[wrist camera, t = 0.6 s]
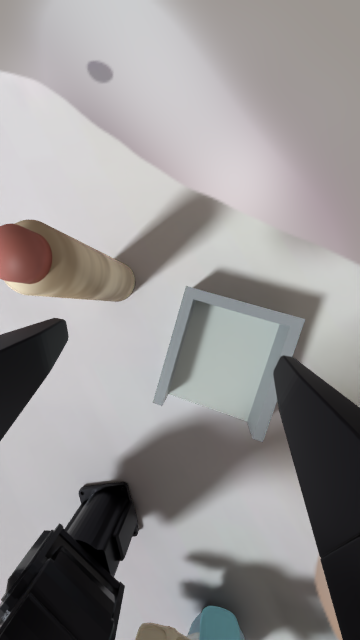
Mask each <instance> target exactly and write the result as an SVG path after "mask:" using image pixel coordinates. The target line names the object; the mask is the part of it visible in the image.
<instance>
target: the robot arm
mask: <svg viewBox="0 0 360 640" xmlns="http://www.w3.org/2000/svg"><path fill="white" fill-rule="evenodd" d="M67 341H68V331H67V325H66V321H65V320H63V319H58V318H53V319H49V320H46V321H43V322H40V323H37V324H33V325H30V326H27V327H24V328H21V329H18V330H14V331H11V332H8V333H5V334H2V335H0V441H1V439H2V438H3V437H4V435H5V434H6V433H7V431H8V430H9V428H10V427H11V426H12V424H13V423H14V421H15V420H16V419H17V417H18V416H19V414H20V413H21V412H22V410H23V409H24V407H25V406H26V405H27V403H28V402H29V400H30V399H31V398H32V396H33V395H34V394H35V392H36V391H37V389H38V388H39V387H40V385H41V384H42V382H43V381H44V380H45V378H46V377H47V375H48V374H49V372H50V371H51V369H52V368H53V366H54V364H55V362H56V361H57V359H58V357H59V355H60V353H61V352H62V350H63V348H64V346H65V345H66V343H67ZM273 377H274V383H275V389H276V395H277V402H278V407H279V412H280V416H281V419H282V423H283V426H284V430H285V433H286V437H287V441H288V444H289V448H290V451H291V455H292V459H293V462H294V466H295V469H296V473H297V476H298V480H299V484H300V487H301V491H302V494H303V498H304V502H305V505H306V509H307V512H308V516H309V519H310V523H311V527H312V530H313V534H314V537H315V541H316V545H317V548H318V552H319V555H320V557H321V563H322V567H323V570H324V574H325V577H326V581H327V585H328V588H329V592H330V595H331V599H332V603H333V606H334V609H335V613H336V616H337V620H338V624H339V628H340V631H341V634H342V638H343V640H360V408H359V407H358V406H357V405H355V404H354V403H353V402H351V401H350V400H349V399H347V398H346V397H345V396H343V395H342V394H341V393H339V392H338V391H337V390H336V389H334V388H333V387H332V386H330V385H329V384H328V383H326V382H325V381H324V380H322V379H321V378H320V377H318V376H317V375H316V374H314V373H313V372H312V371H311V370H309V369H308V368H307V367H305V366H304V365H303V364H301V363H300V362H299V361H297V360H296V359H295V358H293V357H291V356H285V355H283V356H281V357H280V358H279V360H278V362H277V364H276V366H275V369H274V371H273ZM123 487H124V488H123ZM79 497H80V501H81V505H80V507H79V508H78V510H77V511H76V513H75V514H74V516H73V517H72V519H71V520H70V522H69V523H68V525H67V526H66V528H65V529H63V526H62V525H61V524H59V525H58V526H57V527H56V528H55V530H54V531H53V530H51V531H44V532H43V533H42V534H41V536H40V537H39V538H38V540H37V541H36V542H35V544H34V545H33V546H32V547H31V549H30V550H29V551H28V553H27V554H26V555H25V557H24V558H23V560H22V561H21V562H20V564H19V565H18V566H17V568H16V569H15V571H14V572H13V573H12V575H11V576H10V577H9V579H8V583H7V589H6V593H5V594H4V596H3V598H2V599H1V600H2V602H1V604H0V640H115V636H116V630H117V625H118V620H119V614H120V609H121V604H122V598H123V593H124V587H125V586H124V585H123V584H122V583H121V582H118V581H117V580H116V579H115V578H114V575H115V573H116V570H117V567H118V564H119V562H120V561H123V559H124V558H125V555H126V552H127V550H128V547H129V544H130V541H131V538H132V537H133V536H137V534H138V531H139V528H138V524H137V517H136V513H135V509H134V505H133V502H132V500H131V496H130V492H129V488H128V485H127V483H125V482H120V483H112V484H103V485H95V486H86V487H82V488H81V489H80V490H79Z"/></svg>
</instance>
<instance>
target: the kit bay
mask: <svg viewBox="0 0 360 640" xmlns="http://www.w3.org/2000/svg"><path fill="white" fill-rule="evenodd" d="M304 322H305V319H303V318H299V317H296V316H292V315H289V314H285V313H281V312H278V311H274V310H271V309H267V308H263V307H260V306H256V305H253V304H249V303H245V302H242V301H238V300H235V299H231V298H227V297H224V296H220V295H217V294H213V293H209V292H206V291H202V290H199V289H195V288H191V287H188V286H186V288H185V292H184V295H183V299H182V302H181V306H180V309H179V313H178V316H177V320H176V323H175V327H174V330H173V334H172V337H171V341H170V344H169V348H168V351H167V355H166V358H165V362H164V365H163V369H162V372H161V376H160V379H159V383H158V386H157V390H156V393H155V397H154V400H153V403H155V404H158V405H161V406H162V405H163V404H164V402H165V400H166V398H167V396H168V394H170V395H173V396H175V397H178V398H181V399H184V400H187V401H190V402H193V403H195V404H198V405H201V406H204V407H207V408H210V409H212V410H215V411H218V412H221V413H224V414H227V415H229V416H232V417H235V418H238V419H241V420H244V421H247V423H248V426H249V430H250V433H251V436H252V439H255V440H258V441H260V442H263V440H264V437H265V435H266V432H267V429H268V426H269V423H270V420H271V417H272V414H273V411H274V409H275V406H276V403H277V395H276V389H275V383H274V377H273V371H274V369H275V366H276V364H277V362H278V360H279V358H280V357H281V356H283V355H285V356H291V357H292V356H293V354H294V351H295V348H296V345H297V342H298V339H299V336H300V333H301V330H302V327H303V325H304Z"/></svg>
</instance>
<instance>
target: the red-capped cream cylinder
mask: <svg viewBox="0 0 360 640" xmlns="http://www.w3.org/2000/svg"><path fill="white" fill-rule="evenodd" d="M0 279H2V280H4V281H5V283H6V284H7V285H8V286H9V287H10V288H11V289H13V290H14V291H16V292H18V293H20V294H24V295H32V296H46V297H60V298H74V299H87V300H101V301H115V302H117V301H122V300H125V299H126V298H128V297H129V296H130V295H131V293H132V292H133V289H134V286H135V278H134V274H133V272H132V270H131V269H130V268H129V267H128V266H127V265H125V264H123V263H121V262H119V261H117V260H115V259H113V258H111V257H109V256H107V255H106V254H104V253H102V252H100V251H98V250H96V249H94V248H92V247H90V246H88V245H86V244H84V243H82V242H80V241H78V240H76V239H74V238H72V237H70V236H68V235H66V234H64V233H62V232H60V231H58V230H56V229H54V228H52V227H50V226H48V225H46V224H44V223H42V222H39V221H36V220H23V221H20V222H17V223H15V224H6V225H3V226H0Z"/></svg>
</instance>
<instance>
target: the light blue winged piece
mask: <svg viewBox="0 0 360 640" xmlns="http://www.w3.org/2000/svg"><path fill="white" fill-rule="evenodd" d="M135 640H245V638H244V635H243V633H242V631H241V630H240V628H239V624H238V622H237V619H236V617H235V616H234V615H233V614H232V613H231V612H230V611H228V610H226V609H224V608H221V607H217V606H207V607H205V608H204V609H203V611H202V613H200V614H199V615H198V616H197V617H196V619H195V620H194V621H193V623H192V625H191V628H190V631H189V633H188V636H187V637H186V636H184V635H182V634H180V633H179V632H178V631H177V630H176V629H175V628H172V627H170V626H163V625H158V624H154V623H143V624H142V625H141V626H140V628H139V630H138V633H137V636H136V639H135Z"/></svg>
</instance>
